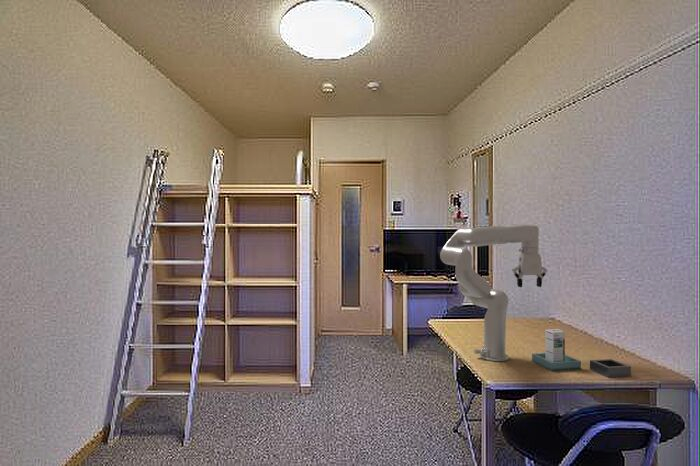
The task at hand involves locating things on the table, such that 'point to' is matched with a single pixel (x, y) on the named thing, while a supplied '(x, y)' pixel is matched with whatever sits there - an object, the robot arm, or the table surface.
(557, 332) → the syrup box
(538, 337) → the table surface
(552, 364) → the tray
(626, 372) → the holder
